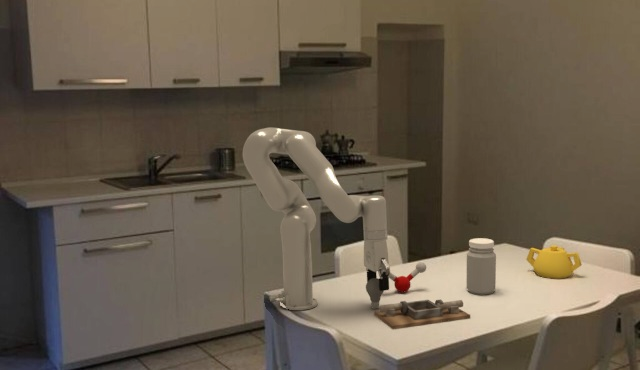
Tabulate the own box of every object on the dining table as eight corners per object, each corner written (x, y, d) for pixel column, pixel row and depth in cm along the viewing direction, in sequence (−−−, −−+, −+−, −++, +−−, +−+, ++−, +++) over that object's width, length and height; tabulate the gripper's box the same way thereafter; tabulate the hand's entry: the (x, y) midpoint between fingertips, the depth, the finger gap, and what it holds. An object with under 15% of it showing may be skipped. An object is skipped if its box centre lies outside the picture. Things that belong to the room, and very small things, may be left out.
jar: (461, 292, 246) (461, 241, 244) (475, 285, 253) (476, 236, 251) (486, 297, 239) (486, 245, 237) (500, 290, 247) (501, 240, 244)
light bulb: (379, 312, 226) (379, 281, 225) (362, 309, 229) (362, 279, 228) (387, 307, 231) (387, 277, 230) (371, 304, 234) (371, 274, 233)
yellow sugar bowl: (587, 270, 270) (588, 242, 269) (576, 282, 255) (577, 252, 253) (534, 264, 281) (535, 237, 279) (520, 275, 266) (521, 246, 264)
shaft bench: (393, 329, 211) (392, 312, 210) (374, 315, 224) (374, 299, 223) (470, 318, 219) (470, 302, 218) (447, 305, 232) (447, 289, 231)
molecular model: (385, 298, 241) (385, 269, 240) (376, 293, 246) (376, 265, 245) (428, 290, 249) (428, 262, 248) (418, 286, 254) (418, 258, 253)
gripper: (354, 231, 234) (357, 281, 236) (375, 240, 217) (378, 295, 220) (375, 228, 236) (377, 278, 238) (397, 237, 220) (400, 291, 222)
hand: (378, 286), depth 229 cm, fingers open, 9 cm apart
